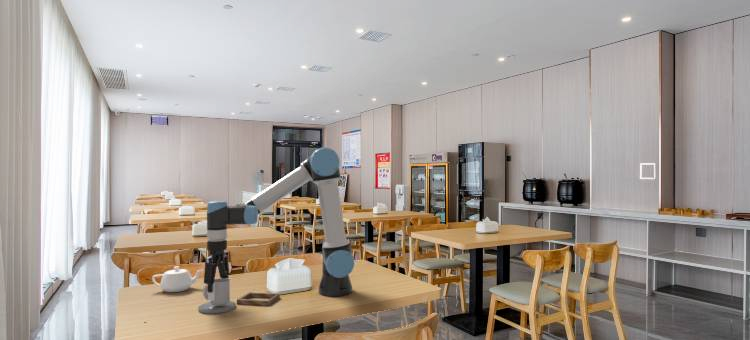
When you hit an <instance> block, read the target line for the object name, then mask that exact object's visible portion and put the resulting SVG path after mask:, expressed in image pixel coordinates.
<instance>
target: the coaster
mask: <svg viewBox="0 0 750 340" xmlns="http://www.w3.org/2000/svg"><path fill="white" fill-rule="evenodd" d="M236 305H237V303H236V302H234V301H232V300H230V301H229V303H227V304H224V305H212V304H211V301H208V302H205V303H201V304H200V305H199V306H198V307H197V311H198V313H199V314H200V313H201V314H204V315H206V314H207V315H214V314H215V315H216V314H224V313H227V312H231V311H232V310H234V309H235V308H236Z"/></svg>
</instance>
